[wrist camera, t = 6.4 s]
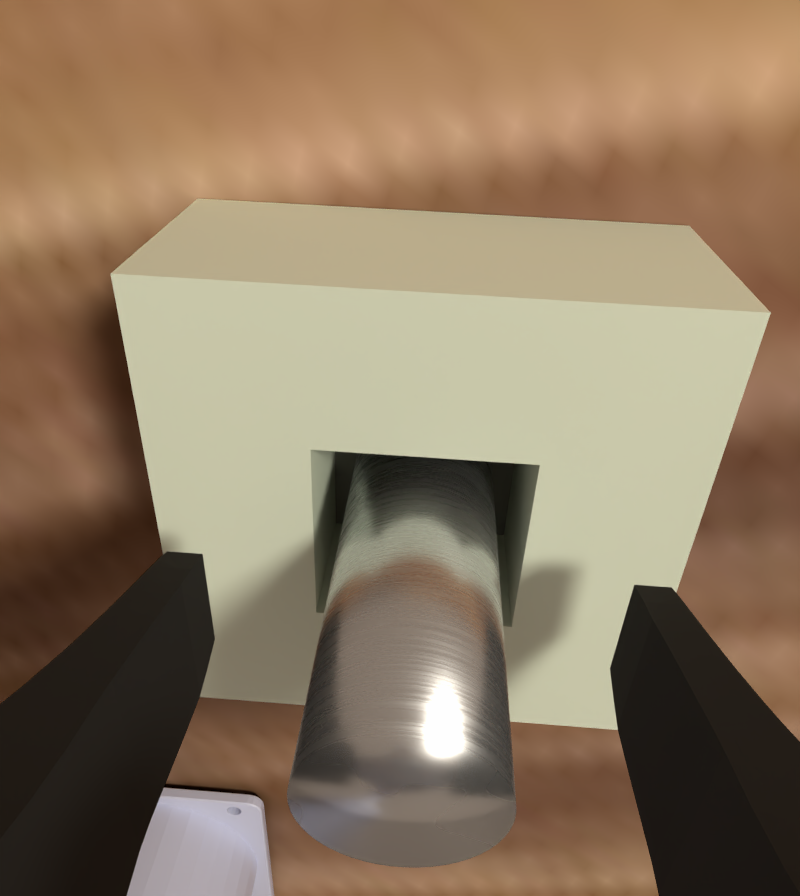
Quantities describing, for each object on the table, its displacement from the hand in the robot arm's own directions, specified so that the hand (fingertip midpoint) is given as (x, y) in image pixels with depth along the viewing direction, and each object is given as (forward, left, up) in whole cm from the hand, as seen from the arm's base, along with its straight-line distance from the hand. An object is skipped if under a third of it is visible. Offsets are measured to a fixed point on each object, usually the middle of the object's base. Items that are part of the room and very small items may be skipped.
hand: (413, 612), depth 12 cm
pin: (0, 0, -5) cm, 5 cm away
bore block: (0, 0, -6) cm, 6 cm away
